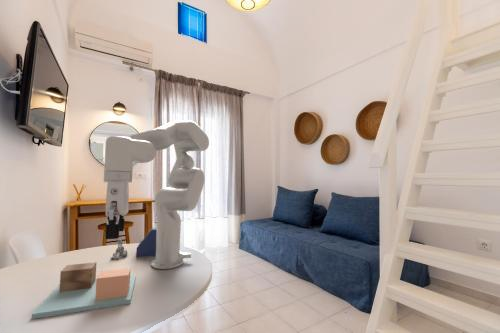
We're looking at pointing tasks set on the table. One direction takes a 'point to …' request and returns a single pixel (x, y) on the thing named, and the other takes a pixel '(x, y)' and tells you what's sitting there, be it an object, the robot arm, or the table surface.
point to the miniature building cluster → (119, 251)
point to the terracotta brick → (112, 284)
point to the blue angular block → (147, 245)
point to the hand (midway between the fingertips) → (115, 234)
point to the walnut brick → (77, 277)
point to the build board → (78, 301)
